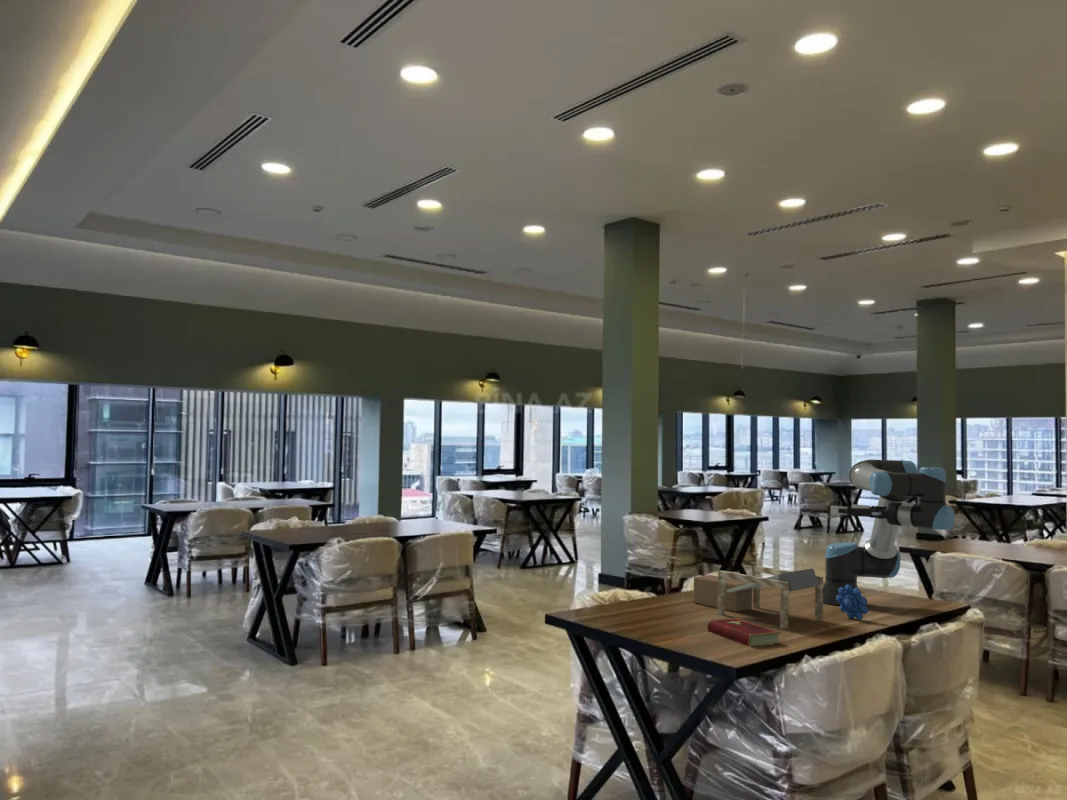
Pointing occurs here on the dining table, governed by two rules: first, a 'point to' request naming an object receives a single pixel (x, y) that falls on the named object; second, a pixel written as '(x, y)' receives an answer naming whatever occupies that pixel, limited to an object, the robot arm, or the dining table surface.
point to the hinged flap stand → (769, 582)
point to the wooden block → (733, 600)
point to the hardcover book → (743, 631)
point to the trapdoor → (788, 580)
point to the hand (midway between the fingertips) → (841, 508)
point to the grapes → (852, 602)
